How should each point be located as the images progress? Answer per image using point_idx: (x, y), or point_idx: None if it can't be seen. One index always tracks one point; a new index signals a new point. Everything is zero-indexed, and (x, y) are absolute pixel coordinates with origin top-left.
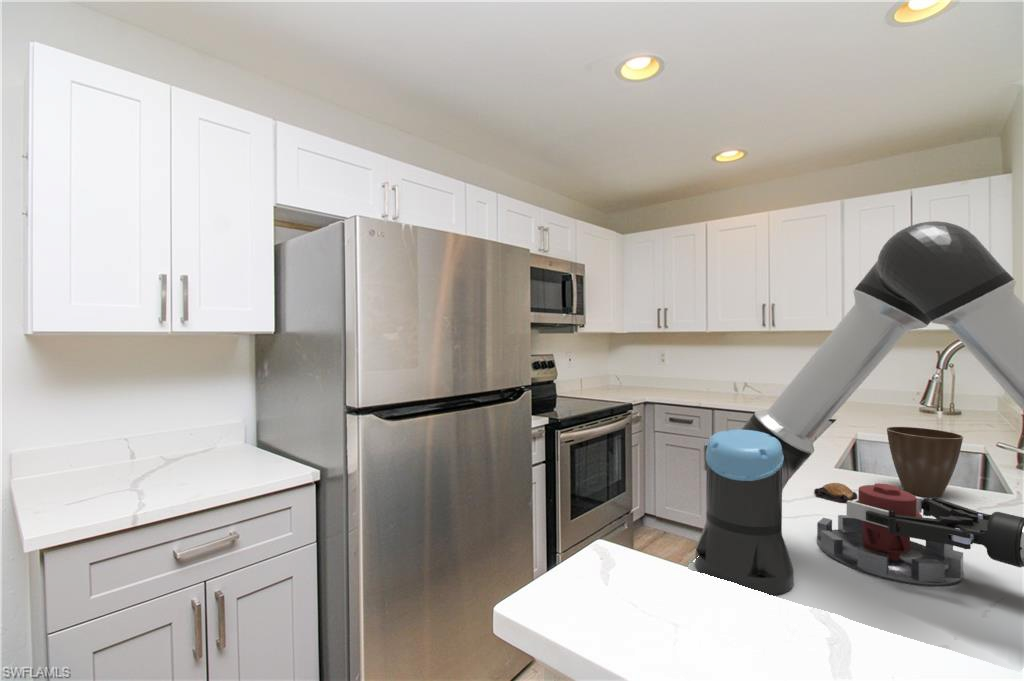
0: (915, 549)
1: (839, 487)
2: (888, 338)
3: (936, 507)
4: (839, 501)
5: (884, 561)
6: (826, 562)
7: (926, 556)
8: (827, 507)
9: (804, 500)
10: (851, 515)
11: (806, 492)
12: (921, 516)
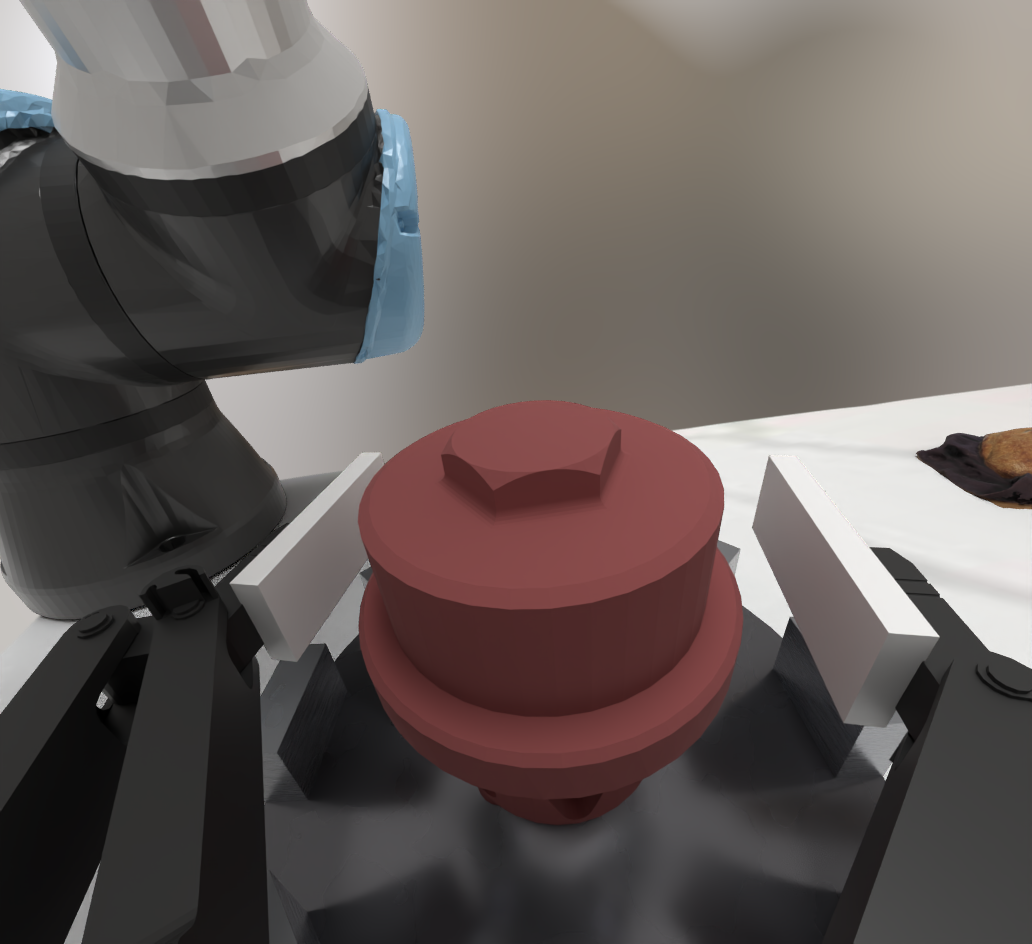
0: (774, 839)
1: None
2: None
3: (887, 821)
4: (983, 492)
5: None
6: (337, 621)
7: (725, 927)
8: (865, 494)
9: (834, 455)
10: None
11: (917, 438)
12: (587, 754)
